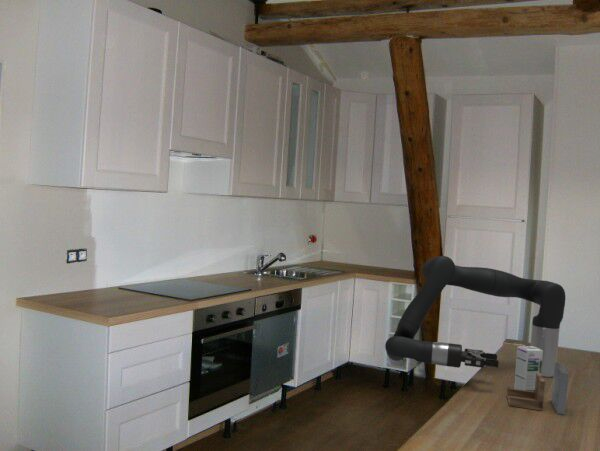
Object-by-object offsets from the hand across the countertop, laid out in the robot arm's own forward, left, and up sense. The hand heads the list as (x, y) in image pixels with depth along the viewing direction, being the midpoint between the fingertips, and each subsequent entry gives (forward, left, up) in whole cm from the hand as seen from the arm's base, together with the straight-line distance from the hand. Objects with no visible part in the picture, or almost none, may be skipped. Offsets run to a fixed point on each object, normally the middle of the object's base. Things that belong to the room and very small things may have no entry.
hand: (497, 360), depth 207 cm
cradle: (+13, +8, -9) cm, 18 cm away
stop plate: (+13, +17, -9) cm, 23 cm away
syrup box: (0, +10, -9) cm, 13 cm away
